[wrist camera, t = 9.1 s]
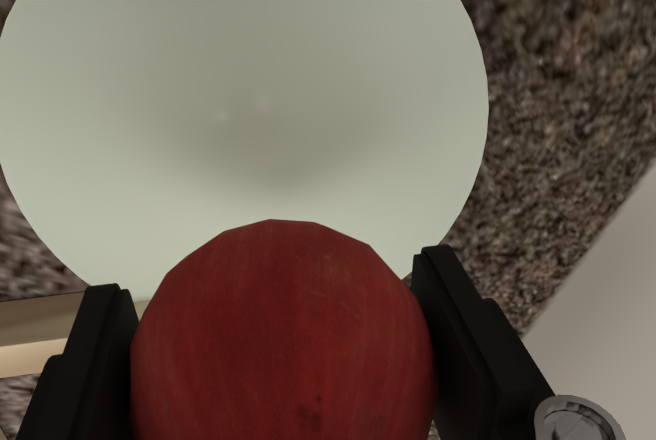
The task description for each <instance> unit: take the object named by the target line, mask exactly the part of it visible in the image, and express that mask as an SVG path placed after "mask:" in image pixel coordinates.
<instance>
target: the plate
mask: <svg viewBox="0 0 656 440" xmlns="http://www.w3.org/2000/svg"><path fill="white" fill-rule="evenodd" d="M488 111H489V105H488V87H487V77H486V72H485V67H484V61H483V56H482V51H481V48H480V45H479V42H478V39H477V36H476V34H475V31H474V28H473V25H472V22H471V20H470V18H469V16H468V14H467V12H466V10H465V8H464V6H463V4H462V2H461V0H16V1H15V3H14V5H13V7H12V9H11V11H10V13H9V15H8V17H7V19H6V22H5V25H4V28H3V31H2V34H1V38H0V164H1V167H2V170H3V173H4V176H5V179H6V182H7V184H8V186H9V188H10V190H11V192H12V194H13V196H14V198H15V200H16V202H17V204H18V206H19V208H20V210H21V212H22V213H23V215H24V216H25V218H26V219H27V221H28V222H29V224H30V225H31V226H32V228H33V229H34V231H35V232H36V234H37V235H38V237H39V238H40V239H41V240H42V241H43V242H44V243H45V244H46V246H47V247H48V248H49V249H50V250H51V251H52V252H53V254H54V255H55V256H56V257H57V258H58V259H59V260H60V261H61V262H63V263H64V264H65V265H66V266H67V267H68V268H69V269H70V270H72V271H73V272H74V273H75V274H76V275H77V276H78V277H80V278H81V279H82V280H84V281H85V282H87V283H88V284H90V285H91V286H94V285H103V284H111V283H117V284H118V285H119V286H120V288H121V289H129V291H130V293H131V296H132V300H133V302H140V301H148V300H151V299H152V297H153V295H154V294H155V292H156V290H157V288H158V287H159V285H160V283H161V282H162V280H163V278H164V277H165V275H166V273H167V272H169V271H170V270H171V269H172V268H173V267H174V266H176V265H177V264H178V263H179V262H180V261H181V260H183V259H184V258H185V257H186V256H187V255H189V254H190V253H192V252H193V251H195V250H196V249H198V248H199V247H201V246H202V245H204V244H205V243H207V242H208V241H210V240H211V239H213V238H214V237H216V236H217V235H219V234H220V233H222V232H223V231H225V230H229V229H233V228H237V227H240V226H244V225H248V224H252V223H256V222H259V221H263V220H267V219H279V220H294V221H310V222H316V223H318V224H321V225H324V226H327V227H329V228H331V229H334V230H336V231H338V232H341V233H343V234H345V235H348V236H350V237H352V238H355V239H357V240H359V241H362V242H364V243H366V244H369V245H370V246H371V247H372V248H373V249H374V251H375V252H376V253H377V254H378V255H379V256H380V257H381V258H382V259H383V261H384V262H385V263H386V264H387V265H388V266H389V267H390V268H391V269H392V271H393V272H394V273H395V274H396V275H397V276H398V277H399V278H400V279H403V278H404V277H405V276H406V275H408V274H409V273H410V272H412V266H413V257H414V255H415V254H421V249H422V248H423V247H426V246H435V245H438V243H439V242H440V241H441V240H442V239H443V237H444V236H445V235H446V234H447V232H448V231H449V229H450V228H451V226H452V224H453V223H454V221H455V220H456V218H457V217H458V215H459V214H460V212H461V210H462V208H463V206H464V204H465V202H466V200H467V198H468V196H469V194H470V192H471V190H472V187H473V184H474V182H475V179H476V176H477V173H478V170H479V167H480V164H481V160H482V156H483V151H484V146H485V141H486V137H487V124H488Z"/></svg>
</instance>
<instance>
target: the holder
mask: <svg viewBox="0 0 656 440" xmlns="http://www.w3.org/2000/svg"><path fill="white" fill-rule="evenodd" d="M84 293H85V292H80V293H71V294H63V295H55V296H47V297H38V298H30V299H22V300H14V301H5V302H0V378H4V377H11V376H18V375H26V374H33V373H40V372H42V370H43V368H44V365H45V363H46V361H47V360H48V358H49V357H51V356H52V355H58V354H62V353H63V351H64V348H65V345H66V342H67V340H68V337H69V334H70V331H71V329H72V326H73V323H74V320H75V318H76V315H77V312H78V309H79V307H80V304H81V301H82V298H83V296H84ZM149 302H150V300H148V301H140V302H133V303H134V306H135V309H136V313H137V316H138V319H139V322H140V320H141V317H142V315H143V312H144V311H145V309H146V307H147V306H148V304H149ZM0 440H7V438H6V436H5V435H4V433H3V431H2V430H1V428H0Z"/></svg>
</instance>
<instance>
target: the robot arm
mask: <svg viewBox="0 0 656 440" xmlns="http://www.w3.org/2000/svg"><path fill="white" fill-rule="evenodd" d="M411 291H412V292H413V293H414V294H415V295H416V296H417V299H418V301H419V304H420V306H421V309H422V312H423V314H424V317H425V320H426V322H427V325H428V329H429V333H430V337H431V341H432V345H433V349H434V352H435V356H436V360H437V364H438V368H439V381H438V400H437V404H436V407H435V411H434V415H433V420H434V423H435V426H436V428H437V431H438V434H439V436H440V439H441V440H626V438H625V435H624V433H623V431H622V429H621V427H620V425H619V424H618V423H617V421H616V420H615V419H614V418H613V416H612V415H611V414H610V413H608V412H607V411H606V410H604V409H603V408H602V407H600V406H599V405H597V404H595V403H593V402H591V401H589V400H587V399H585V398H581V397H577V396H573V395H557V396H556V395H555V394H554V392H553V391H552V389H551V388H550V386H549V384H548V383H547V381H546V379H545V378H544V376H543V375H542V373H541V372H540V370H539V368H538V367H537V365H536V364H535V362H534V360H533V359H532V357H531V356H530V354H529V353H528V351H527V349H526V348H525V346H524V345H523V343H522V341H521V340H520V338H519V337H518V335H517V334H516V332H515V330H514V329H513V327H512V326H511V324H510V322H509V321H508V319H507V318H506V316H505V315H504V313H503V311H502V310H501V308H500V307H499V305H498V304H497V303H496V301H495V300H493V299H491V298H487V299H482V298H481V296H480V295H479V293H478V291H477V290H476V288H475V287H474V285H473V283H472V282H471V280H470V278H469V277H468V275H467V273H466V272H465V270H464V268H463V267H462V265H461V263H460V262H459V260H458V258H457V257H456V255H455V253H454V252H453V250H452V248H451V247H450V246H449V245H448V244H443V245H435V246H426V247H423V248H422V249H421V254H415V255H414V257H413V266H412V280H411ZM138 325H139V319H138V316H137V313H136V309H135V306H134V303H133V300H132V296H131V293H130V291H129V289H121V288H120V286H119V285H118V284H117V283H111V284H103V285H94V286H89V287H87V288H86V290H85V293H84V296H83V298H82V301H81V304H80V307H79V309H78V312H77V315H76V318H75V320H74V323H73V326H72V329H71V331H70V334H69V337H68V340H67V342H66V345H65V348H64V351H63V353H62V354H58V355H52V356H51V357H49V358H48V360H47V361H46V363H45V365H44V368H43V370H42V373H41V375H40V378H39V380H38V383H37V386H36V388H35V391H34V393H33V396H32V398H31V401H30V403H29V406H28V409H27V411H26V414H25V416H24V419H23V421H22V424H21V426H20V429H19V431H18V434H17V437H16V439H15V440H134V437H133V433H132V429H131V425H130V421H129V405H130V385H131V368H130V345H131V342H132V340H133V337H134V335H135V332H136V330H137V327H138Z"/></svg>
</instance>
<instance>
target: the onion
mask: <svg viewBox="0 0 656 440" xmlns="http://www.w3.org/2000/svg"><path fill="white" fill-rule="evenodd" d="M130 368H131V385H130V405H129V421H130V425H131V429H132V433H133V437H134V440H427V438H428V435H429V431H430V427H431V423H432V419H433V415H434V411H435V407H436V404H437V400H438V381H439V368H438V364H437V360H436V356H435V352H434V349H433V345H432V341H431V337H430V333H429V329H428V325H427V322H426V320H425V317H424V314H423V312H422V309H421V306H420V304H419V301H418V299H417V296H416V295H415V294H414V293H413V292H412V291H411V290H410V289H409V288H408V287H407V286H406V285H405V284H404V283H403V281H402V280H401V279H400V278H399V277H398V276H397V275H396V274H395V273H394V272H393V271H392V269H391V268H390V267H389V266H388V265H387V264H386V263H385V262H384V261H383V259H382V258H381V257H380V256H379V255H378V254H377V253H376V252H375V251H374V249H373V248H372V247H371V246H370V245H369V244H366V243H364V242H362V241H359V240H357V239H355V238H352V237H350V236H348V235H345V234H343V233H341V232H338V231H336V230H334V229H331V228H329V227H327V226H324V225H321V224H318V223H316V222H310V221H294V220H279V219H267V220H263V221H259V222H256V223H252V224H248V225H244V226H240V227H237V228H233V229H229V230H225V231H223V232H222V233H220V234H219V235H217V236H216V237H214V238H213V239H211V240H210V241H208V242H207V243H205V244H204V245H202V246H201V247H199V248H198V249H196V250H195V251H193V252H192V253H190V254H189V255H187V256H186V257H185V258H184V259H183V260H181V261H180V262H179V263H178V264H177V265H176V266H174V267H173V268H172V269H171V270H170V271H169V272H167V273H166V275H165V277H164V278H163V280H162V282H161V283H160V285H159V287H158V288H157V290H156V292H155V294H154V295H153V297H152V299H151V300H150V302H149V304H148V306H147V307H146V309H145V311H144V312H143V315H142V317H141V320H140V322H139V325H138V327H137V330H136V332H135V335H134V337H133V340H132V342H131V345H130Z"/></svg>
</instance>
